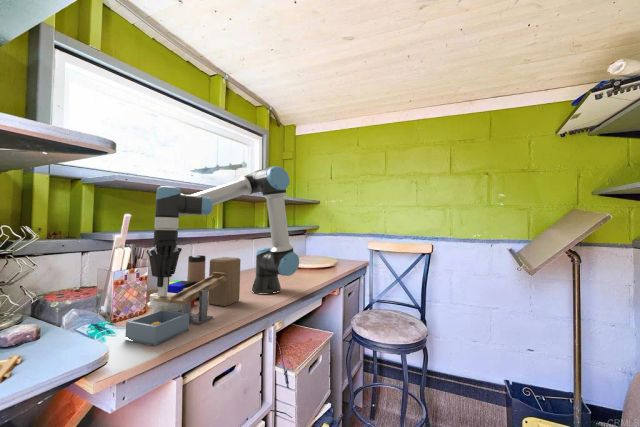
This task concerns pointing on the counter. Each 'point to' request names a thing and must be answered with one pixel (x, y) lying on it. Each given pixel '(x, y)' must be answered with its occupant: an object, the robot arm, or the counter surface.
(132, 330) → the tray
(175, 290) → the puzzle toy
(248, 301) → the counter surface
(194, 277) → the travel mug
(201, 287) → the lever
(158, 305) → the pipe fitting
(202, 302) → the stand
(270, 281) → the robot arm
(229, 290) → the block
